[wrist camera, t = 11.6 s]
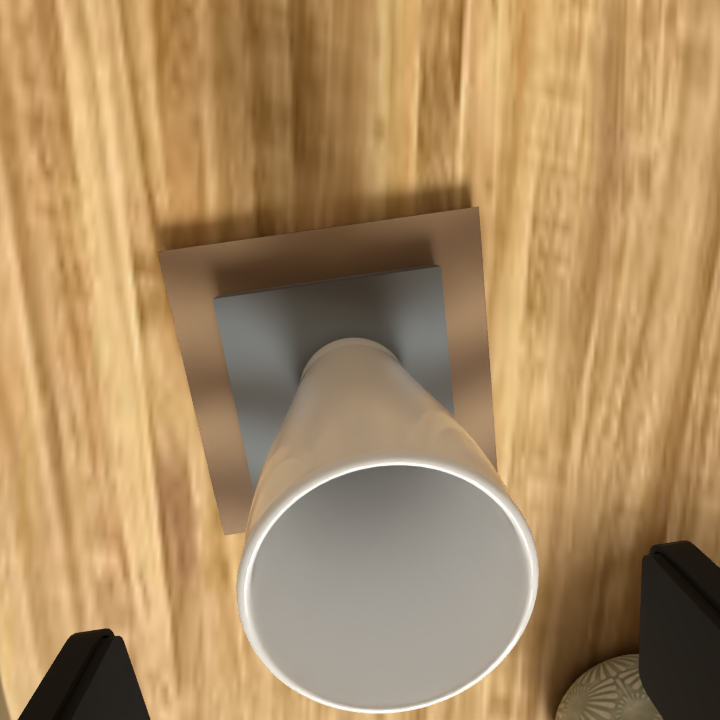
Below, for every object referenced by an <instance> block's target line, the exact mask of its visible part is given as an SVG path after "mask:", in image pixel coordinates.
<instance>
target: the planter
mask: <svg viewBox="0 0 720 720" xmlns="http://www.w3.org/2000/svg"><path fill="white" fill-rule="evenodd" d="M555 720H663V718H662V717H661V715H660V714H659V712H658V711H657V709H656V707H655V706H654V704H653V703H652V701H651V700H650V698H649V697H648V695H647V694H646V692H645V690H644V688H643V685H642V683H641V680H640V676H639V654H629V655H623V656H618V657H615V658H611V659H609V660H606V661H604V662H601V663H599V664H597V665H595V666H594V667H592V668H591V669H589V670H588V671H586V672H585V673H583V674H582V675H581V676H580V677H579V678H578V679H577V680H576V681H575V682H574V683H573V684H572V685H571V686H570V688H569V689H568V690H567V692H566V693H565V695H564V697H563V698H562V700H561V702H560V704H559V707H558V709H557V713H556V717H555Z"/></svg>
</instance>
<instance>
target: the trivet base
mask: <svg viewBox="0 0 720 720" xmlns="http://www.w3.org/2000/svg"><path fill="white" fill-rule="evenodd" d="M158 256H159V261H160V265H161V269H162V273H163V278H164V282H165V286H166V290H167V295H168V299H169V303H170V307H171V311H172V316H173V320H174V324H175V328H176V333H177V337H178V341H179V345H180V350H181V354H182V358H183V362H184V366H185V371H186V375H187V379H188V383H189V388H190V392H191V396H192V400H193V405H194V409H195V413H196V417H197V421H198V426H199V430H200V434H201V438H202V443H203V447H204V451H205V455H206V460H207V464H208V468H209V472H210V477H211V481H212V485H213V489H214V493H215V498H216V502H217V506H218V510H219V515H220V519H221V523H222V527H223V532H224V535H230V534H236V533H243V532H245V530H246V525H247V520H248V516H249V511H250V507H251V502H252V499H253V495H254V491H255V488H256V484H257V481H258V478H259V475H260V472H261V469H262V466H263V463H264V460H265V458H266V455H267V453H268V451H269V448H270V446H271V444H272V442H273V440H274V437H275V435H276V433H277V431H278V429H279V427H280V425H281V423H282V421H283V419H284V416H285V414H286V412H287V410H288V408H289V406H290V404H291V402H292V400H293V398H294V395H295V393H296V391H297V389H298V387H299V383H300V378H301V375H302V372H303V370H304V368H305V366H306V364H307V362H308V361H309V360H310V358H311V357H312V356H313V355H314V354H315V353H316V352H317V351H318V350H319V349H321V348H322V347H324V346H325V345H327V344H329V343H331V342H333V341H336V340H339V339H343V338H351V337H358V338H365V339H369V340H372V341H375V342H377V343H379V344H381V345H383V346H384V347H386V348H387V349H389V350H390V351H391V352H392V353H393V354H394V355H395V356H396V357H397V359H398V360H399V361H400V363H401V365H402V366H403V367H404V368H405V369H406V370H407V371H408V372H409V373H410V374H411V375H412V376H413V377H414V378H415V379H416V380H417V381H418V382H419V383H420V384H421V385H422V386H423V387H424V388H425V389H426V390H427V391H429V392H430V393H431V394H432V395H433V396H434V397H435V398H436V399H437V400H438V401H439V402H440V403H441V404H442V405H443V406H444V407H445V408H446V409H447V410H448V411H449V412H450V413H451V414H452V415H453V416H454V417H455V418H456V419H457V420H458V421H459V422H460V423H461V424H462V426H463V427H464V428H465V429H466V430H467V431H468V433H469V434H470V435H471V436H472V438H473V439H474V440H475V442H476V443H477V444H478V446H479V447H480V448H481V450H482V451H483V452H484V454H485V455H486V457H487V458H488V459H489V461H490V462H491V464H492V465H493V467H494V468H495V470H496V471H497V458H496V444H495V430H494V416H493V402H492V387H491V373H490V359H489V345H488V331H487V316H486V302H485V288H484V274H483V260H482V245H481V231H480V217H479V207H473V208H465V209H458V210H451V211H444V212H437V213H430V214H423V215H416V216H408V217H401V218H394V219H387V220H380V221H373V222H366V223H359V224H351V225H344V226H337V227H330V228H323V229H316V230H309V231H302V232H294V233H287V234H280V235H273V236H266V237H259V238H252V239H245V240H237V241H230V242H223V243H216V244H209V245H202V246H195V247H188V248H180V249H173V250H166V251H159V252H158Z"/></svg>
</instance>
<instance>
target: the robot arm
mask: <svg viewBox="0 0 720 720" xmlns="http://www.w3.org/2000/svg"><path fill="white" fill-rule="evenodd" d="M639 676H640V680H641V683H642V685H643V688H644V690H645V692H646V694H647V695H648V697H649V698H650V700H651V701H652V703H653V704H654V706H655V707H656V709H657V711H658V712H659V714H660V715H661V717H662V718H663V720H720V568H719V567H718V566H717V565H716V564H715V563H713V562H712V561H711V560H710V559H709V558H708V557H707V556H706V555H705V554H704V553H702V552H701V551H700V550H699V549H698V548H697V547H696V546H695V545H693V544H692V543H691V542H688V541H678V542H672V543H665V544H659V545H654V546H652V547H651V549H650V553H649V555H646V556H644V557H643V560H642V580H641V610H640V639H639ZM18 720H150V717H149V714H148V711H147V708H146V705H145V702H144V699H143V696H142V693H141V690H140V687H139V684H138V682H137V679H136V676H135V673H134V670H133V667H132V664H131V661H130V658H129V655H128V652H127V649H126V646H125V643H124V641H123V639H122V637H120V636H114V634H113V632H112V631H111V630H110V629H99V630H93V631H86V632H80V633H75V634H73V635H71V636H70V637H69V639H68V640H67V641H66V643H65V644H64V646H63V648H62V649H61V651H60V652H59V654H58V656H57V657H56V659H55V660H54V662H53V664H52V665H51V667H50V669H49V670H48V672H47V673H46V675H45V677H44V678H43V680H42V681H41V683H40V685H39V686H38V688H37V689H36V691H35V693H34V694H33V696H32V698H31V699H30V701H29V702H28V704H27V706H26V707H25V709H24V710H23V712H22V714H21V715H20V717H19V719H18Z"/></svg>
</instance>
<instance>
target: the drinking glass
mask: <svg viewBox="0 0 720 720" xmlns="http://www.w3.org/2000/svg"><path fill="white" fill-rule="evenodd" d="M538 581H539V567H538V556H537V551H536V546H535V542H534V539H533V536H532V533H531V530H530V528H529V526H528V524H527V522H526V519H525V518H524V516H523V514H522V513H521V511H520V509H519V508H518V506H517V505H516V503H515V501H514V500H513V498H512V496H511V495H510V493H509V491H508V490H507V488H506V486H505V485H504V483H503V481H502V480H501V478H500V476H499V475H498V473H497V471H496V470H495V468H494V467H493V465H492V464H491V462H490V461H489V459H488V458H487V457H486V455H485V454H484V452H483V451H482V450H481V448H480V447H479V446H478V444H477V443H476V442H475V440H474V439H473V438H472V436H471V435H470V434H469V433H468V431H467V430H466V429H465V428H464V427H463V426H462V424H461V423H460V422H459V421H458V420H457V419H456V418H455V417H454V416H453V415H452V414H451V413H450V412H449V411H448V410H447V409H446V408H445V407H444V406H443V405H442V404H441V403H440V402H439V401H438V400H437V399H436V398H435V397H434V396H433V395H432V394H431V393H430V392H429V391H427V390H426V389H425V388H424V387H423V386H422V385H421V384H420V383H419V382H418V381H417V380H416V379H415V378H414V377H413V376H412V375H411V374H410V373H409V372H408V371H407V370H406V369H405V368H404V367H403V366H402V365H401V363H400V361H399V360H398V359H397V357H396V356H395V355H394V354H393V353H392V352H391V351H390V350H389V349H387V348H386V347H384V346H383V345H381V344H379V343H377V342H375V341H372V340H369V339H365V338H358V337H351V338H343V339H339V340H336V341H333V342H331V343H329V344H327V345H325V346H324V347H322V348H321V349H319V350H318V351H317V352H316V353H315V354H314V355H313V356H312V357H311V358H310V360H309V361H308V362H307V364H306V366H305V368H304V370H303V372H302V375H301V378H300V383H299V387H298V389H297V391H296V393H295V395H294V398H293V400H292V402H291V404H290V406H289V408H288V410H287V412H286V414H285V416H284V419H283V421H282V423H281V425H280V427H279V429H278V431H277V433H276V435H275V437H274V440H273V442H272V444H271V446H270V448H269V451H268V453H267V455H266V458H265V460H264V463H263V466H262V469H261V472H260V475H259V478H258V481H257V484H256V488H255V491H254V495H253V499H252V502H251V507H250V511H249V516H248V520H247V525H246V530H245V536H244V541H243V547H242V553H241V559H240V564H239V569H238V575H237V604H238V611H239V616H240V619H241V623H242V627H243V629H244V632H245V634H246V637H247V639H248V641H249V643H250V644H251V646H252V648H253V650H254V651H255V653H256V654H257V656H258V657H259V659H260V660H261V661H262V663H263V664H264V665H265V666H266V667H267V668H268V669H269V671H270V672H272V673H273V674H274V675H275V676H276V677H277V678H278V679H279V680H280V681H282V682H283V683H284V684H286V685H287V686H288V687H290V688H291V689H293V690H294V691H296V692H298V693H299V694H301V695H303V696H305V697H307V698H309V699H311V700H313V701H316V702H318V703H321V704H323V705H327V706H330V707H333V708H337V709H341V710H346V711H351V712H360V713H375V714H380V713H396V712H405V711H410V710H415V709H419V708H423V707H427V706H430V705H433V704H436V703H439V702H442V701H444V700H446V699H449V698H451V697H453V696H455V695H457V694H459V693H461V692H463V691H465V690H466V689H468V688H470V687H471V686H473V685H474V684H476V683H477V682H479V681H480V680H481V679H483V678H484V677H485V676H487V675H488V674H489V673H490V672H491V671H492V670H494V669H495V668H496V667H497V666H498V665H499V664H500V663H501V662H502V661H503V660H504V658H505V657H506V656H507V655H508V654H509V653H510V651H511V650H512V649H513V647H514V646H515V645H516V643H517V642H518V640H519V638H520V637H521V635H522V634H523V632H524V630H525V628H526V626H527V624H528V622H529V619H530V616H531V614H532V611H533V608H534V604H535V600H536V596H537V590H538Z"/></svg>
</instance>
